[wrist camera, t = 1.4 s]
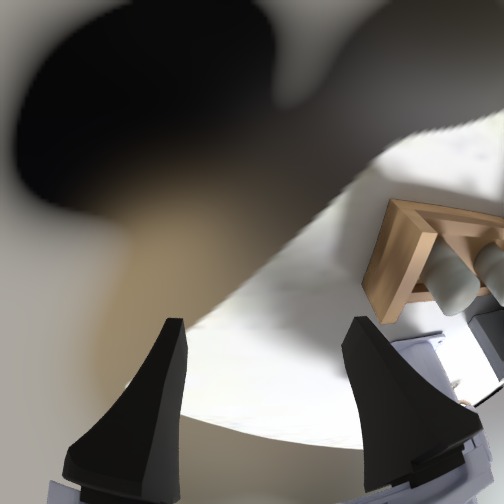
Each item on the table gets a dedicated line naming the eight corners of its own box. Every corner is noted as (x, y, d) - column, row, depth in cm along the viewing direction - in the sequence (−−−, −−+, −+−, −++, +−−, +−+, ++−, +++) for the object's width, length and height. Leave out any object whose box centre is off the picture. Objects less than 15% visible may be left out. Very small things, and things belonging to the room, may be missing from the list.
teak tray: (487, 279, 22) (515, 316, 17) (361, 284, 20) (388, 343, 16) (515, 220, 18) (551, 255, 13) (389, 198, 16) (437, 249, 12)
